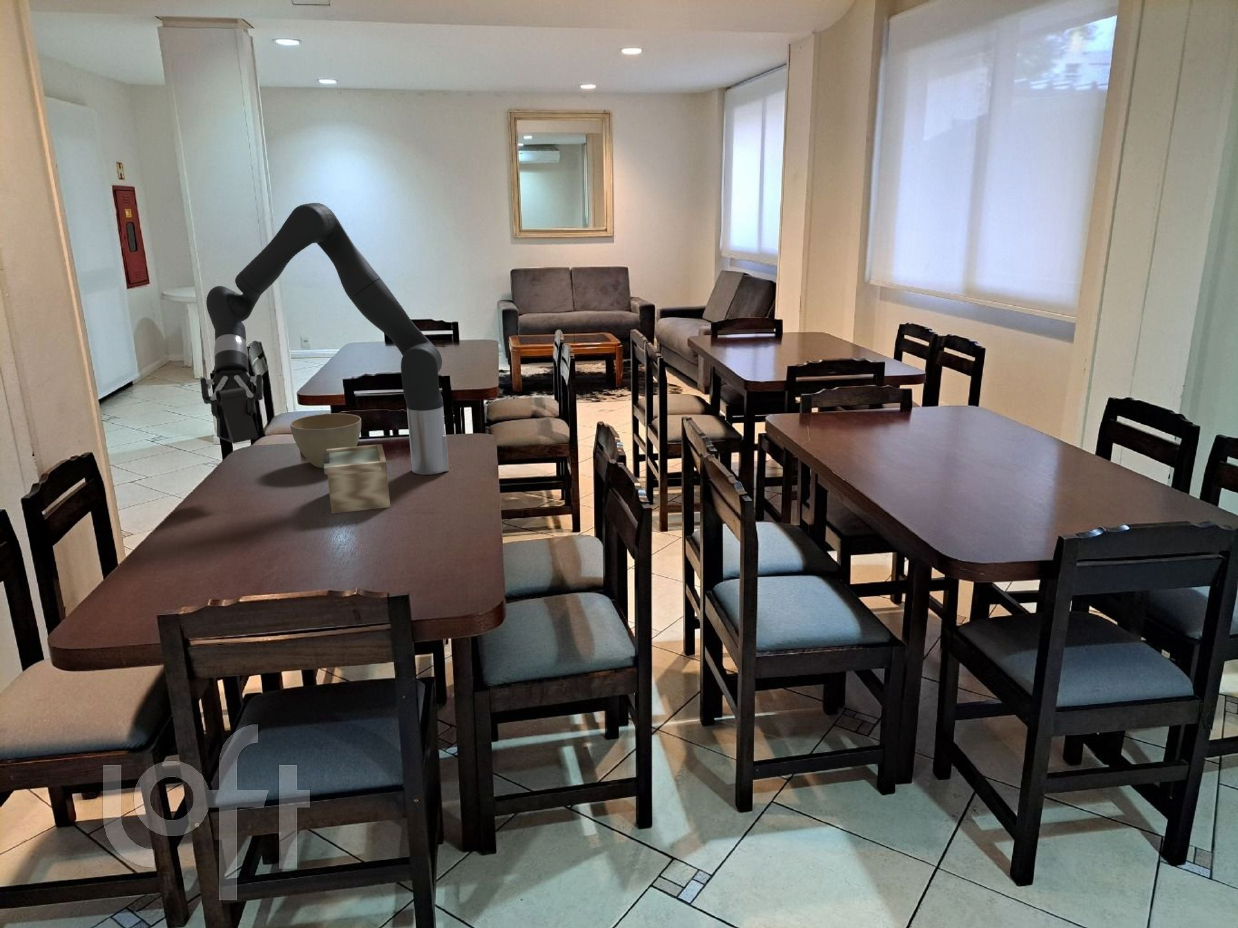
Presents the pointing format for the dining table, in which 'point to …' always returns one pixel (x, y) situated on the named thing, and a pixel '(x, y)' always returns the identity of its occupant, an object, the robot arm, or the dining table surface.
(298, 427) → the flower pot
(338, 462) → the bread box
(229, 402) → the phone stand
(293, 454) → the dining table surface
